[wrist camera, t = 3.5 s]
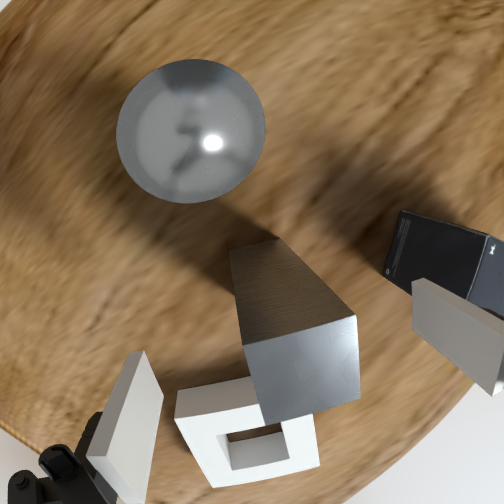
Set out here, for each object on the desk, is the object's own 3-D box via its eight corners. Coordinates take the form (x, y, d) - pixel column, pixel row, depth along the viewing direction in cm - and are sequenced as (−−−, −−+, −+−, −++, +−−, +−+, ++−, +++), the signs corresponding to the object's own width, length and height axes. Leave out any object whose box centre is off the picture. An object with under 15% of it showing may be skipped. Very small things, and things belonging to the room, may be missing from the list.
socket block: (177, 390, 26) (174, 419, 22) (297, 364, 27) (308, 391, 23) (212, 460, 29) (212, 487, 25) (310, 439, 29) (319, 465, 26)
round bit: (170, 136, 21) (106, 82, 8) (229, 122, 22) (247, 47, 8) (183, 194, 22) (134, 219, 9) (242, 180, 23) (279, 184, 9)
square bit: (227, 250, 24) (242, 345, 10) (279, 238, 24) (355, 315, 10) (239, 298, 25) (265, 425, 11) (289, 286, 25) (360, 398, 11)
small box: (378, 280, 26) (452, 333, 16) (399, 207, 24) (487, 228, 14) (456, 297, 27) (525, 339, 17) (475, 236, 26) (552, 263, 16)
